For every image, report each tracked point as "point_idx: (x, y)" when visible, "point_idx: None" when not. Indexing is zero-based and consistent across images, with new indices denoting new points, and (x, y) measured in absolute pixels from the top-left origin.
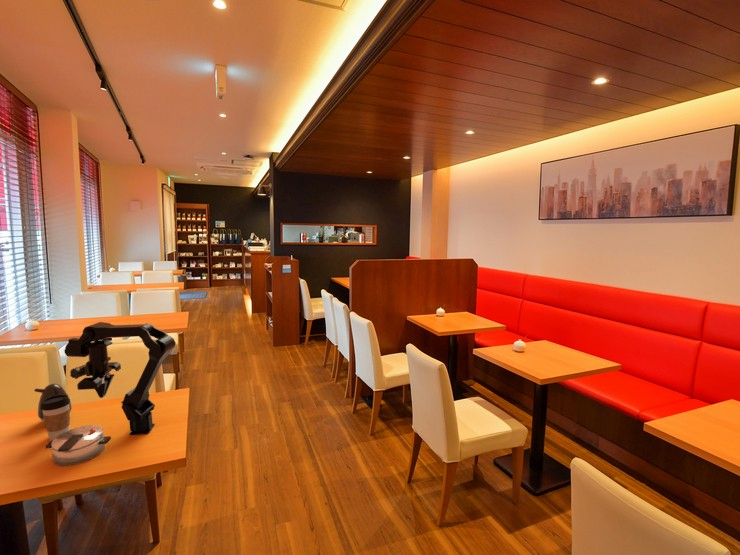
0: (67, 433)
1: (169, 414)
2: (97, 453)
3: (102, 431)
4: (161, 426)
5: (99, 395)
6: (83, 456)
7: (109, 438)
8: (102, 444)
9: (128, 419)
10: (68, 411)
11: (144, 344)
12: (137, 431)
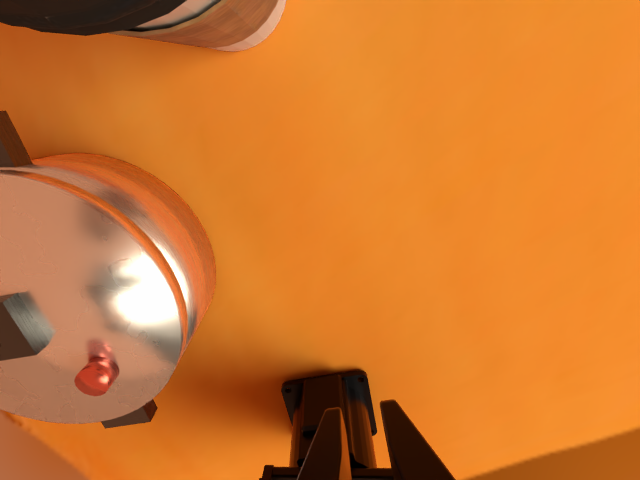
0: (32, 220)
1: (471, 438)
2: None
3: (129, 409)
4: None
5: (316, 449)
6: None
7: (138, 419)
8: None
9: (263, 473)
10: (179, 35)
11: None
12: (293, 417)
